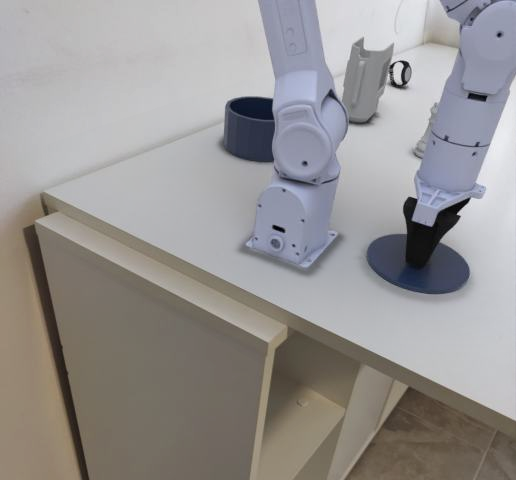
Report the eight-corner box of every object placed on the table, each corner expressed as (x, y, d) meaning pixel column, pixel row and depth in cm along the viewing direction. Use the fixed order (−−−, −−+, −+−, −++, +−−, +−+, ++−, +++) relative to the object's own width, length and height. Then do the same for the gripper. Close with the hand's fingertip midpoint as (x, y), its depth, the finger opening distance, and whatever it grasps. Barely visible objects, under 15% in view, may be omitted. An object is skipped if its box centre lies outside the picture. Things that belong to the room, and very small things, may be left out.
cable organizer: (381, 109, 103) (397, 40, 95) (364, 128, 95) (381, 54, 87) (348, 102, 105) (361, 33, 97) (329, 120, 96) (342, 46, 88)
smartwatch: (397, 90, 114) (403, 64, 111) (382, 82, 118) (388, 57, 114) (412, 89, 116) (418, 64, 113) (397, 81, 119) (403, 57, 116)
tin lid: (453, 311, 56) (471, 270, 52) (350, 274, 59) (360, 233, 56) (475, 262, 64) (492, 224, 60) (383, 231, 67) (394, 194, 64)
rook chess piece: (441, 162, 86) (458, 111, 81) (413, 158, 86) (428, 106, 81) (439, 152, 89) (455, 102, 84) (413, 148, 90) (427, 98, 84)
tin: (272, 167, 79) (277, 127, 75) (210, 148, 82) (212, 108, 78) (303, 146, 86) (309, 108, 82) (245, 128, 89) (248, 91, 85)
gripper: (489, 171, 45) (438, 300, 54) (514, 125, 55) (468, 240, 64) (409, 149, 47) (373, 276, 56) (447, 108, 57) (411, 222, 66)
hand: (419, 256), depth 60 cm, fingers open, 3 cm apart
